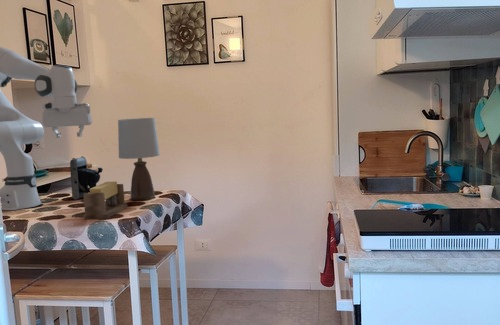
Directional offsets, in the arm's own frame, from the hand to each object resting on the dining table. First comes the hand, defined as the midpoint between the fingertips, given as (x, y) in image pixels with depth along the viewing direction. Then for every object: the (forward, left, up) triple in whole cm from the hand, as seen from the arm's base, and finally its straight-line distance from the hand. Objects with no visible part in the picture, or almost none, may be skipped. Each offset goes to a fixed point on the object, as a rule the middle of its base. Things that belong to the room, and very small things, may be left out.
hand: (69, 137), depth 196 cm
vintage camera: (-5, +26, -31) cm, 41 cm away
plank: (+17, -8, -25) cm, 31 cm away
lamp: (+22, +22, -31) cm, 44 cm away
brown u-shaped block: (+17, -8, -31) cm, 36 cm away
